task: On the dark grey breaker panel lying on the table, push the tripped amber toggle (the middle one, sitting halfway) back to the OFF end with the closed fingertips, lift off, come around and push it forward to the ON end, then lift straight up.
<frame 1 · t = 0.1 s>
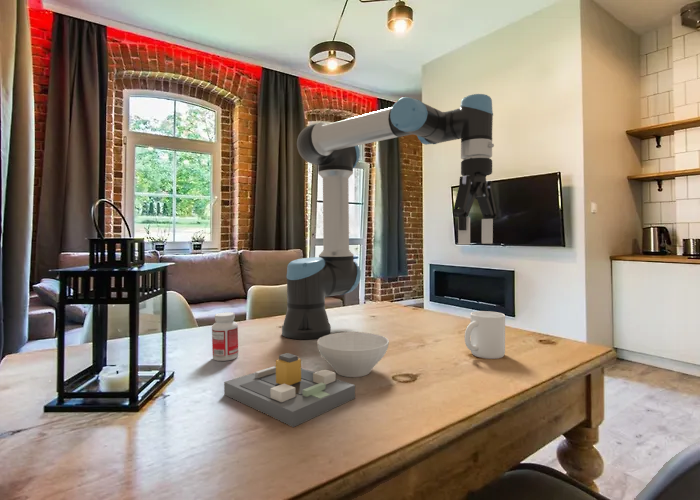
hand: (476, 244, 101), 28 cm above the table, fingers open, 13 cm apart
mug: (482, 356, 100), on the table
pill bottle: (225, 358, 100), on the table
panel: (288, 396, 75), on the table
breaker handle: (288, 368, 75), point 5 cm above the table, slide at 0.0 cm
bowl: (353, 372, 89), on the table
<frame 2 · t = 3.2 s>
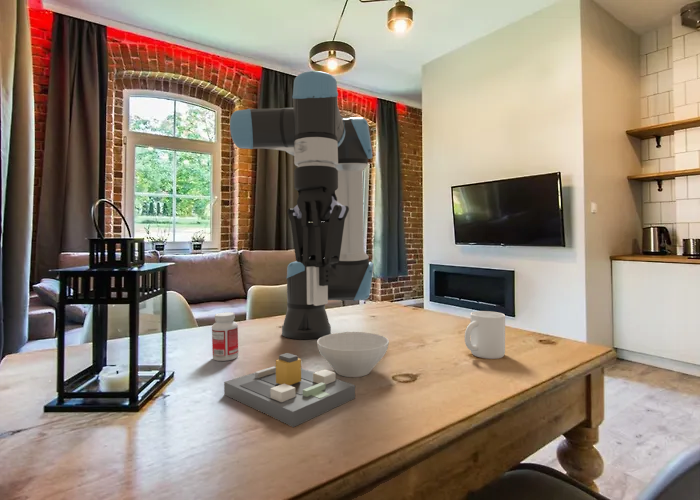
hand: (317, 303, 69), 18 cm above the table, fingers closed
nothing on the table moved.
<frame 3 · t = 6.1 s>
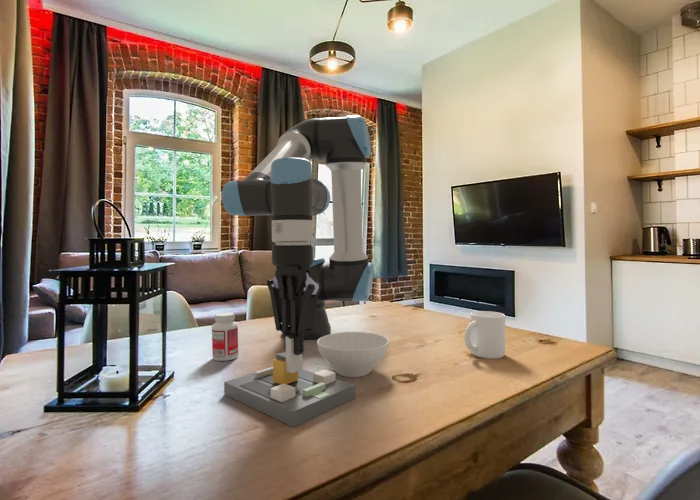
hand: (294, 370, 74), 5 cm above the table, fingers closed
breaker handle: (285, 367, 76), point 5 cm above the table, slide at -0.8 cm, touching gripper
everything else where it was.
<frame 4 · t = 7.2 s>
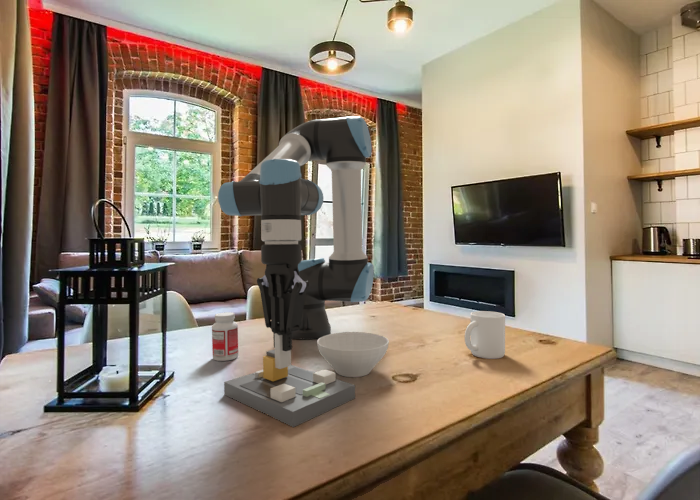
hand: (283, 366, 76), 5 cm above the table, fingers closed
breaker handle: (275, 364, 78), point 5 cm above the table, slide at -3.9 cm, touching gripper
everything else where it was.
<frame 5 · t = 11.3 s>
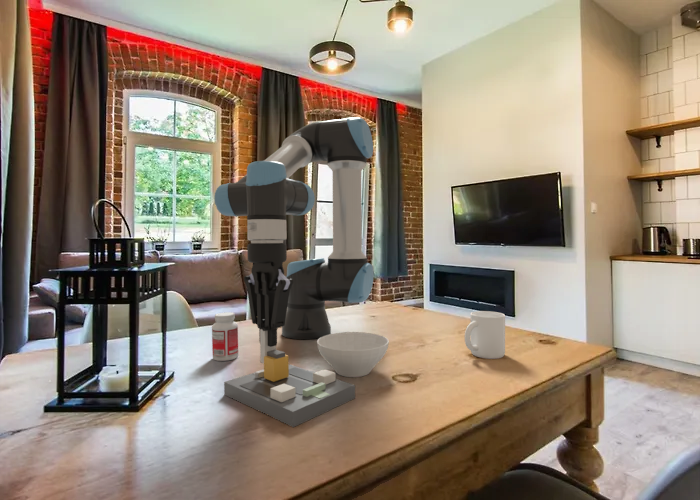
hand: (268, 361, 79), 6 cm above the table, fingers closed
nothing on the table moved.
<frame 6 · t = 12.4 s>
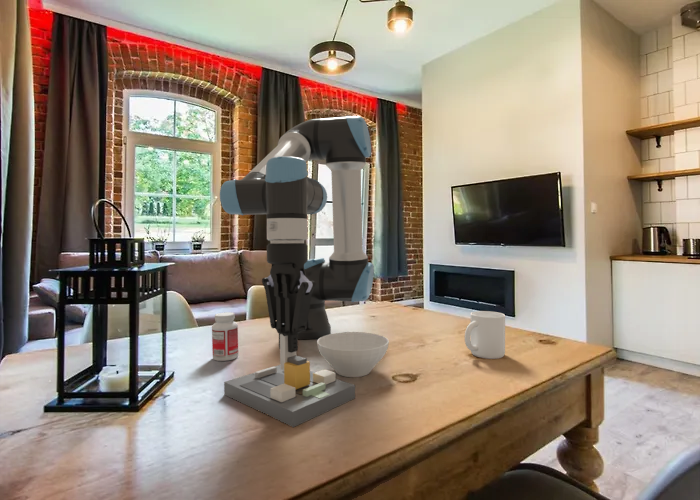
hand: (288, 367, 75), 6 cm above the table, fingers closed
breaker handle: (297, 371, 74), point 5 cm above the table, slide at 2.5 cm, touching gripper
everything else where it was.
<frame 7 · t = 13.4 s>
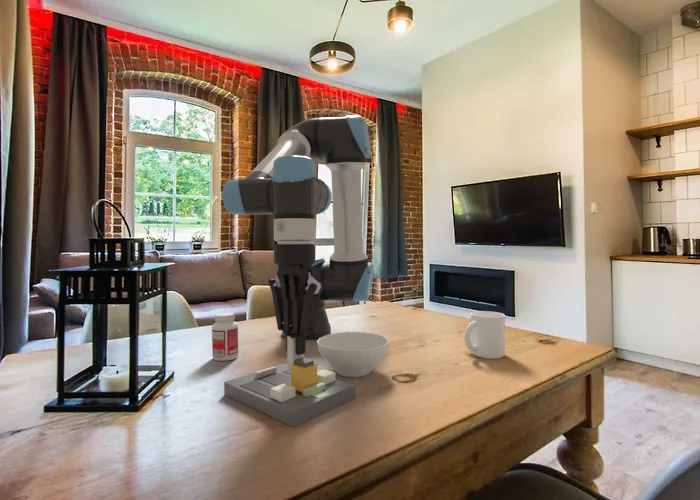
hand: (295, 370, 74), 5 cm above the table, fingers closed
breaker handle: (304, 373, 72), point 5 cm above the table, slide at 4.4 cm, touching gripper
everything else where it was.
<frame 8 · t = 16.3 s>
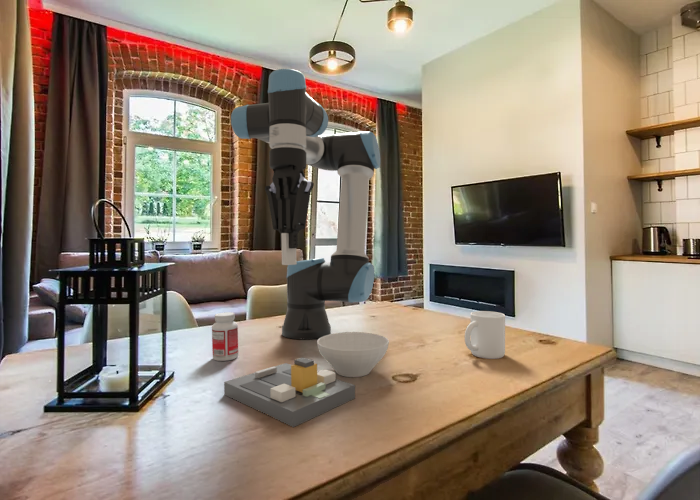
hand: (289, 264, 83), 24 cm above the table, fingers closed
breaker handle: (304, 373, 72), point 5 cm above the table, slide at 4.4 cm
everything else where it was.
at the end: breaker handle slide at 4.4 cm; breaker handle touching nothing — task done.
